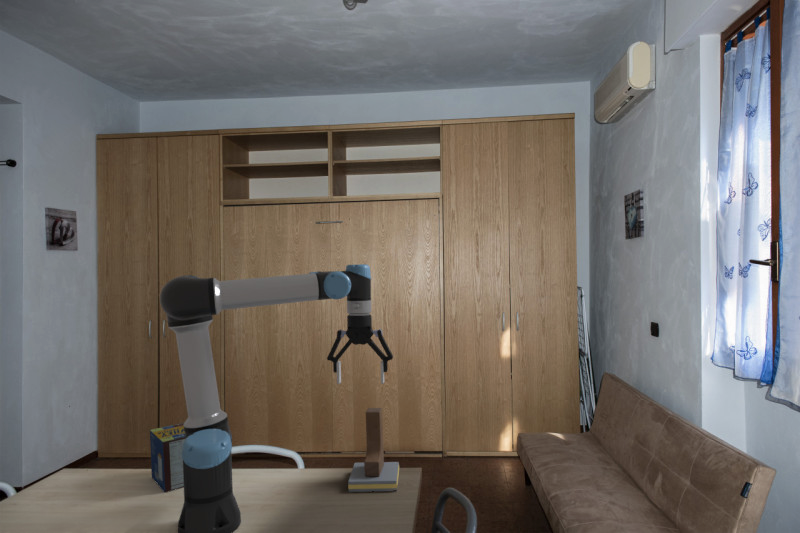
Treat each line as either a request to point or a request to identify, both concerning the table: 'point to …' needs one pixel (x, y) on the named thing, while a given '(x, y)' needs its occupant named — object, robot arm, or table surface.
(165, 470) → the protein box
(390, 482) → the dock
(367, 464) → the wooden block
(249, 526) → the table surface
